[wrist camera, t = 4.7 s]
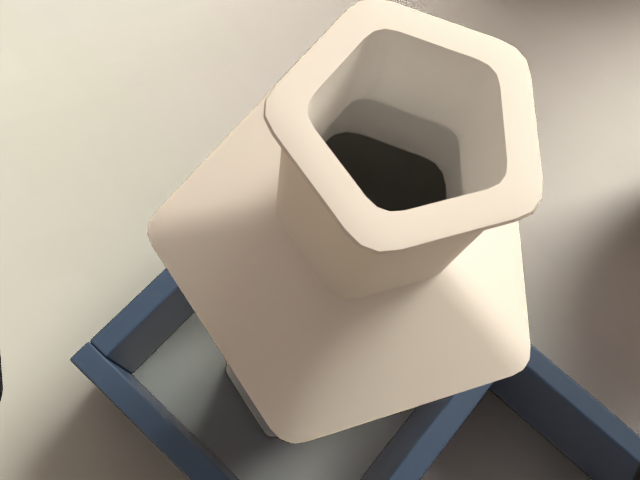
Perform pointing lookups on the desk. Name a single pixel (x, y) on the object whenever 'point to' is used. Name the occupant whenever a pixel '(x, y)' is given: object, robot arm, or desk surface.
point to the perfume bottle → (365, 225)
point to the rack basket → (408, 443)
